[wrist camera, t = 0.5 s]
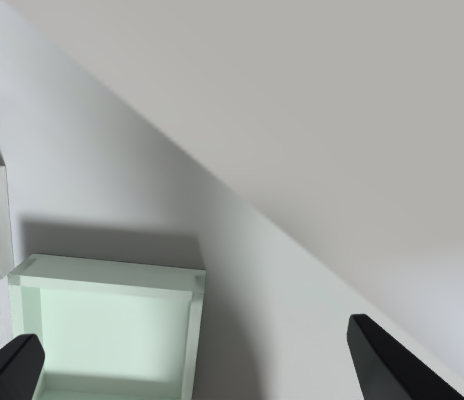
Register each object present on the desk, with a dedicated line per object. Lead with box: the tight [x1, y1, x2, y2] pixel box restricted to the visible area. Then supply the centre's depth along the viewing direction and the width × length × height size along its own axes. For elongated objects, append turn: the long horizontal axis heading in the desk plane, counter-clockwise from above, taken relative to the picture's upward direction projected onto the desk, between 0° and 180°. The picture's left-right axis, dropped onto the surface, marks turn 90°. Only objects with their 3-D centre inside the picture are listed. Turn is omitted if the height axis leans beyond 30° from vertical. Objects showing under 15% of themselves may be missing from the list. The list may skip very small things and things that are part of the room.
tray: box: [7, 253, 206, 400], centre depth 25 cm, size 13×13×3 cm
